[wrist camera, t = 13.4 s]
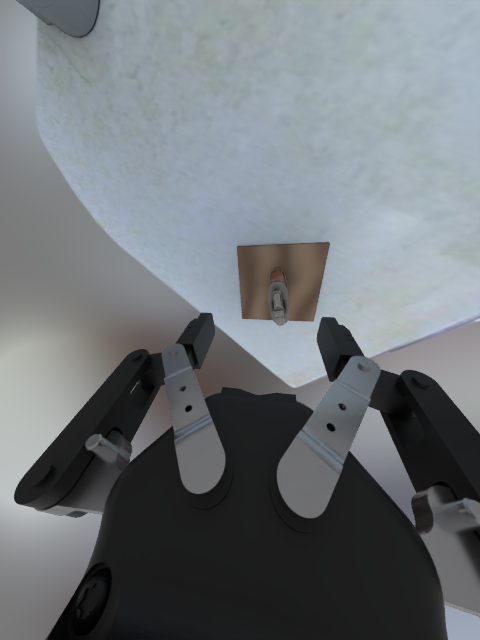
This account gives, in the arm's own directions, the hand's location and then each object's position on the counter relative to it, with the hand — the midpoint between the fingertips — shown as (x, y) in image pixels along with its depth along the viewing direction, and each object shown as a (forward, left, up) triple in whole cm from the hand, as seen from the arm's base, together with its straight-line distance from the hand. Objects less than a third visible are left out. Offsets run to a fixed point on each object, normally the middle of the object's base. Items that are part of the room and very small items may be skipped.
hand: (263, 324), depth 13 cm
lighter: (+2, -6, -23) cm, 24 cm away
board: (+2, -7, -23) cm, 24 cm away
